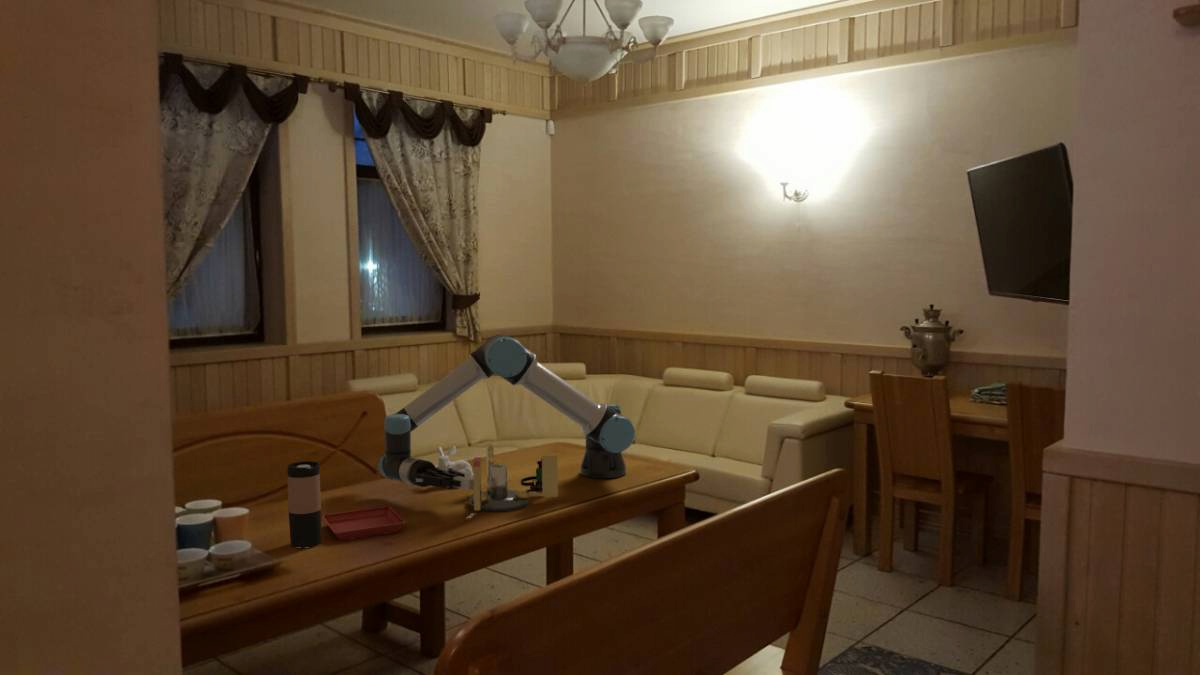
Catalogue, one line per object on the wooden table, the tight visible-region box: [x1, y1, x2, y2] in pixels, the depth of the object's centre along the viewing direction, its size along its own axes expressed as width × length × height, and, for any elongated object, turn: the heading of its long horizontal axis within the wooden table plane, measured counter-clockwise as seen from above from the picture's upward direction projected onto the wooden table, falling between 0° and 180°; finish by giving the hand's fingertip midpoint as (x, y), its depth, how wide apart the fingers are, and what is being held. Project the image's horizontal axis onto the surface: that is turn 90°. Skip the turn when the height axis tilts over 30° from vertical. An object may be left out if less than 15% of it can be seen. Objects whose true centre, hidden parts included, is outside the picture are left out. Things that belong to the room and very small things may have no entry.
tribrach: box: [466, 443, 559, 520], centre depth 250 cm, size 27×32×14 cm
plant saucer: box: [321, 505, 406, 541], centre depth 229 cm, size 18×18×3 cm
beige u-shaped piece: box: [472, 456, 488, 511], centre depth 243 cm, size 12×4×14 cm, turn 3°
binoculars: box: [520, 457, 542, 492], centre depth 265 cm, size 9×11×10 cm
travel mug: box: [286, 460, 322, 549], centre depth 216 cm, size 8×8×20 cm
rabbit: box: [437, 445, 474, 488], centre depth 277 cm, size 12×9×12 cm
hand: (471, 485), depth 239 cm, fingers closed
